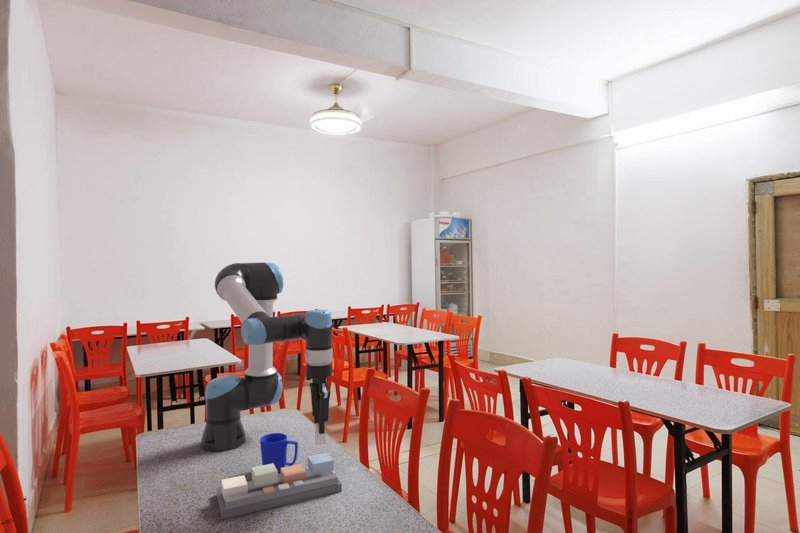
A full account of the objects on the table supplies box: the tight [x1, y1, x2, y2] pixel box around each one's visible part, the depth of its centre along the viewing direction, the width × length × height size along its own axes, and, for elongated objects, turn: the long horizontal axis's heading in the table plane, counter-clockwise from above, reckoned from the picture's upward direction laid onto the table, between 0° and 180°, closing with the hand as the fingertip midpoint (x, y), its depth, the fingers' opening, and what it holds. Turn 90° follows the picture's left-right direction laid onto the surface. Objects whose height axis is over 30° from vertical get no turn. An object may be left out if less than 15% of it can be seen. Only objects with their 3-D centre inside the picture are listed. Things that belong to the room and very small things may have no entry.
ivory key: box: [221, 475, 248, 501], centre depth 129 cm, size 6×6×3 cm
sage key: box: [251, 463, 279, 487], centre depth 132 cm, size 6×6×3 cm
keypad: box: [215, 468, 343, 520], centre depth 134 cm, size 14×32×4 cm, turn 116°
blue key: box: [307, 452, 335, 475], centre depth 139 cm, size 6×6×3 cm
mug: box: [259, 432, 299, 473], centre depth 149 cm, size 8×12×10 cm
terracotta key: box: [280, 463, 307, 484], centre depth 136 cm, size 6×6×3 cm
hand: (320, 443), depth 139 cm, fingers closed
